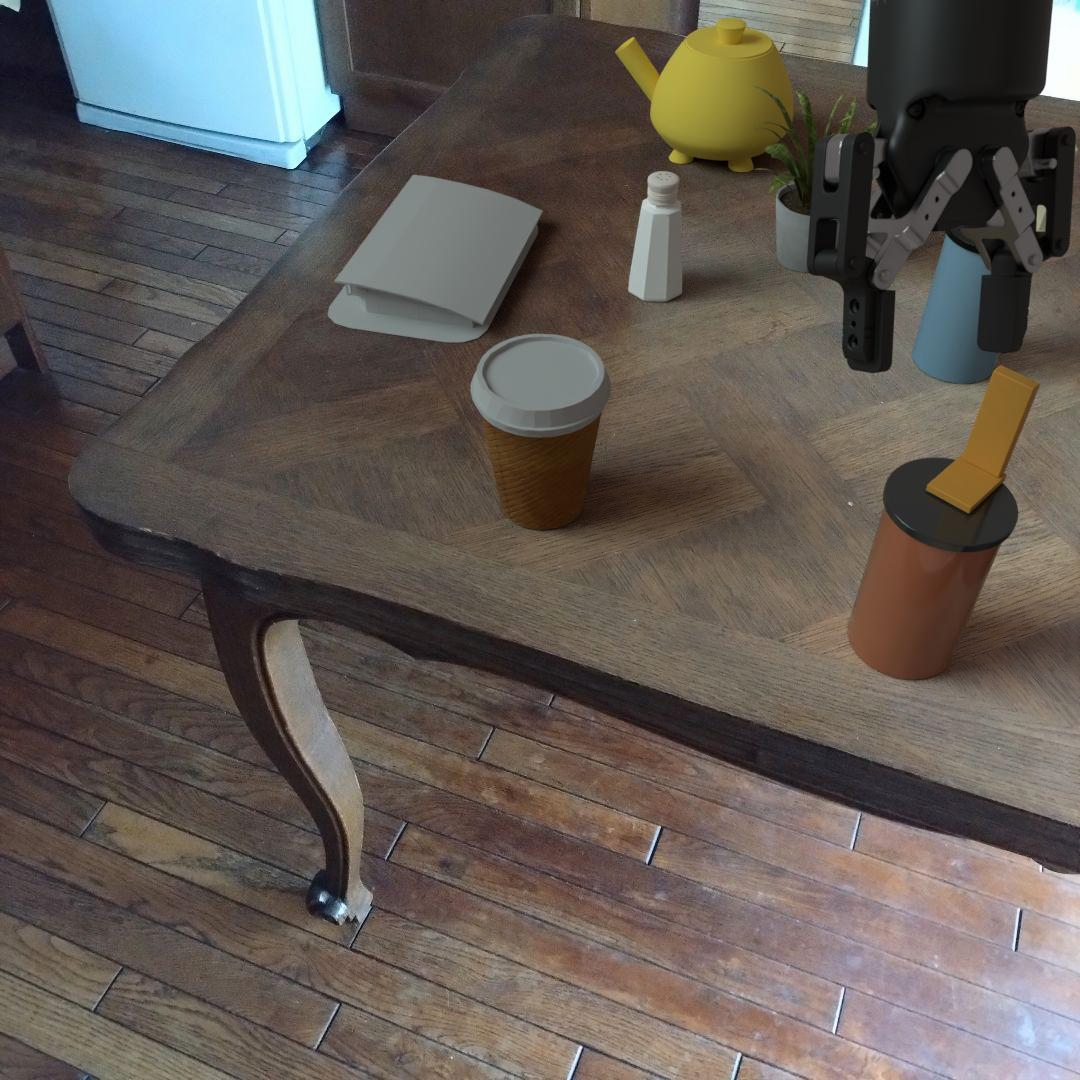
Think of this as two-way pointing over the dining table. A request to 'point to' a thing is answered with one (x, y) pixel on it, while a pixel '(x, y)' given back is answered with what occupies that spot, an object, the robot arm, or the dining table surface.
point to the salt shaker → (658, 242)
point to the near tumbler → (924, 572)
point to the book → (436, 262)
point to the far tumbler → (954, 316)
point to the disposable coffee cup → (541, 424)
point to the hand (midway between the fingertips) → (936, 360)
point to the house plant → (798, 183)
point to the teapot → (716, 93)
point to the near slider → (988, 442)
